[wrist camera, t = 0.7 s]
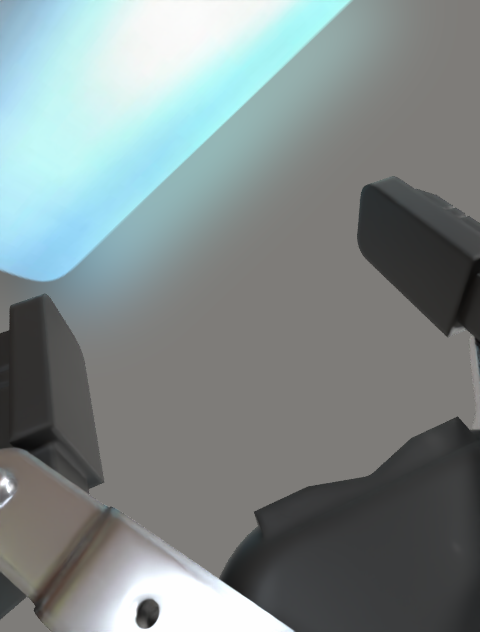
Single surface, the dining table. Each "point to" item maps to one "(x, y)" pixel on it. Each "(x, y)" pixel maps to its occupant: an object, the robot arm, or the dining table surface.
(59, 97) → the dining table surface
